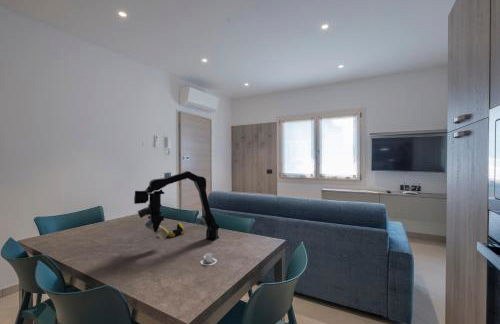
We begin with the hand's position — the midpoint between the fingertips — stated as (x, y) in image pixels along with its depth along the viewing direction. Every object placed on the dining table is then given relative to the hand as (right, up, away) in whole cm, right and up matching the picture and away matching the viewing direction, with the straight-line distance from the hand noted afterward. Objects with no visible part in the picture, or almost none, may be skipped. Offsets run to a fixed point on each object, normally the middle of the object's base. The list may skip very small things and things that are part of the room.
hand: (154, 230), depth 126 cm
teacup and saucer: (+34, -11, -13) cm, 38 cm away
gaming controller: (+2, -10, +26) cm, 28 cm away
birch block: (+5, -4, +3) cm, 7 cm away
